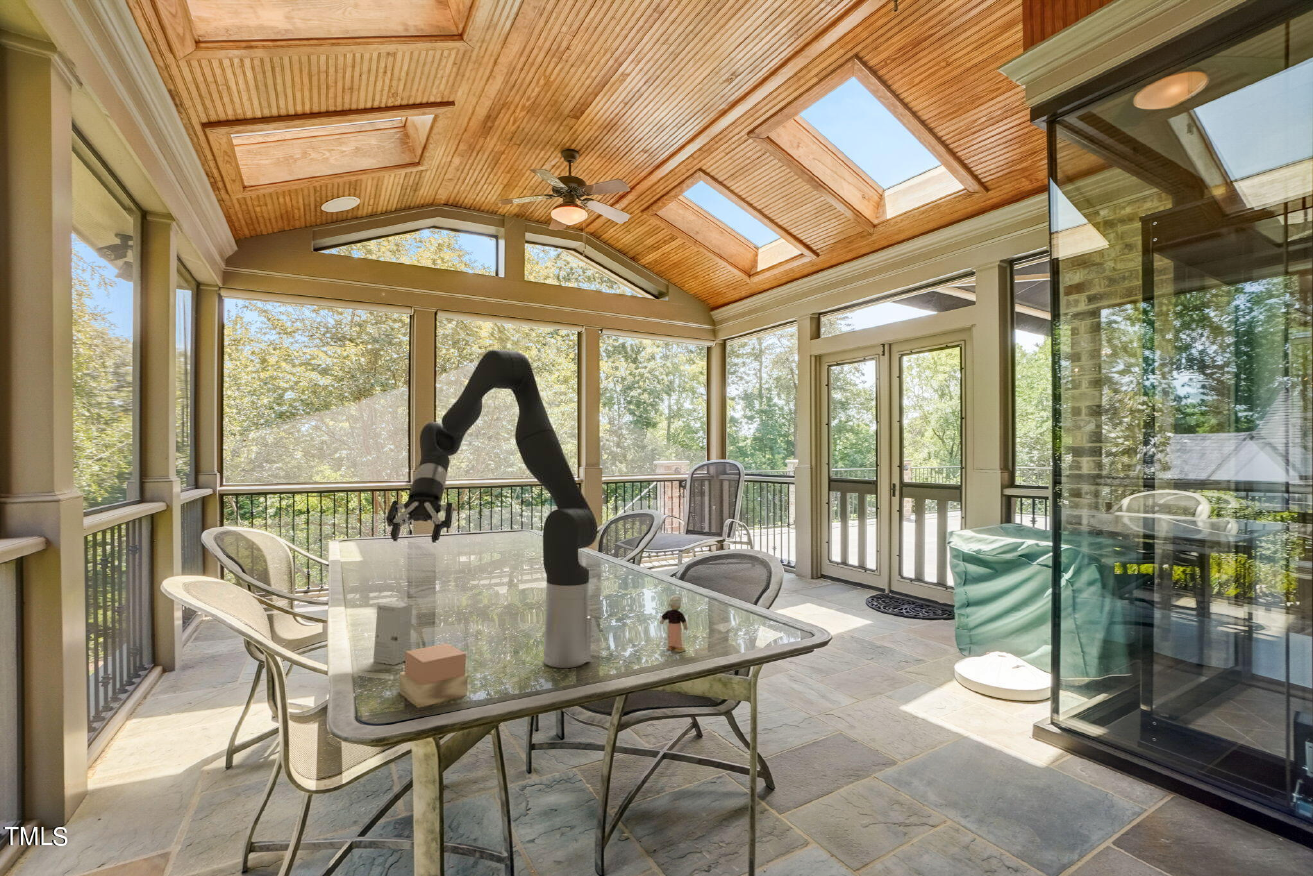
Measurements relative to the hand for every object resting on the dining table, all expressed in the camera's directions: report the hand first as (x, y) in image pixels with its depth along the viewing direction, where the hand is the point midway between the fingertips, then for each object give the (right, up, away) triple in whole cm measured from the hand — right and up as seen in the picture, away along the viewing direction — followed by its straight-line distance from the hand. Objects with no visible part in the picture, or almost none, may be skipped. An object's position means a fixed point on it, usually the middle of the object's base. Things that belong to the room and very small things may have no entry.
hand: (414, 540), depth 139 cm
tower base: (+14, -24, -27) cm, 39 cm away
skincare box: (-1, -24, -9) cm, 26 cm away
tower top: (+14, -20, -26) cm, 36 cm away
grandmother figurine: (+59, -27, +4) cm, 65 cm away
